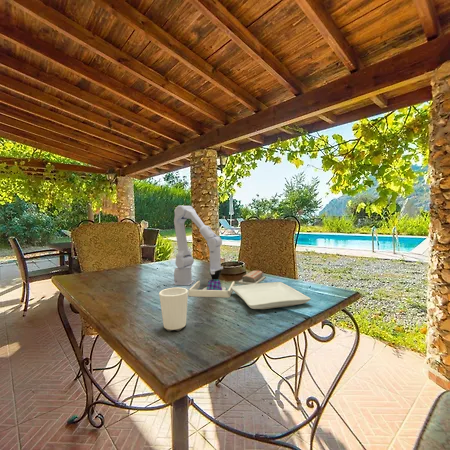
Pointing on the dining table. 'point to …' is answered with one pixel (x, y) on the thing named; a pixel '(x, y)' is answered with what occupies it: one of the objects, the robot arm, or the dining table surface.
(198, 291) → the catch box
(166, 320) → the cup
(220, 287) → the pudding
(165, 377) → the dining table surface
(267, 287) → the square plate
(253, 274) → the packaged product
